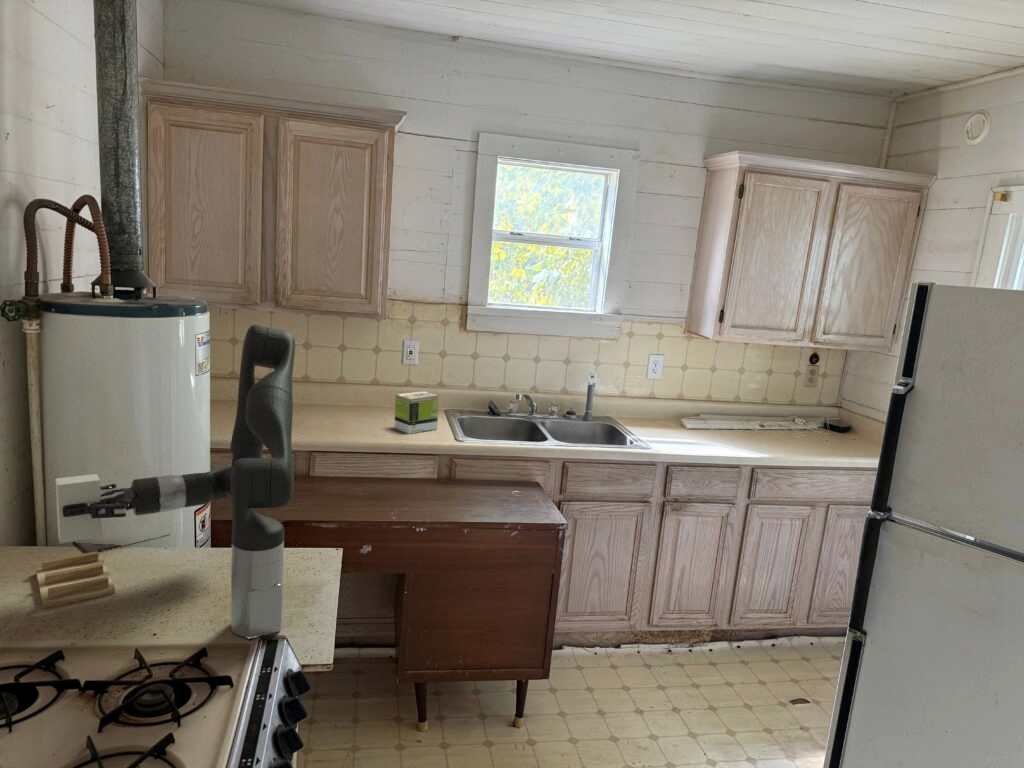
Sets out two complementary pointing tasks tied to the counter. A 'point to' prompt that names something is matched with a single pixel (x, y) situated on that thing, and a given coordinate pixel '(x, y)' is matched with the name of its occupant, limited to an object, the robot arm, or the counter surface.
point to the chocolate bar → (96, 547)
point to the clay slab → (75, 493)
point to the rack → (73, 579)
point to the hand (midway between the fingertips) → (62, 507)
